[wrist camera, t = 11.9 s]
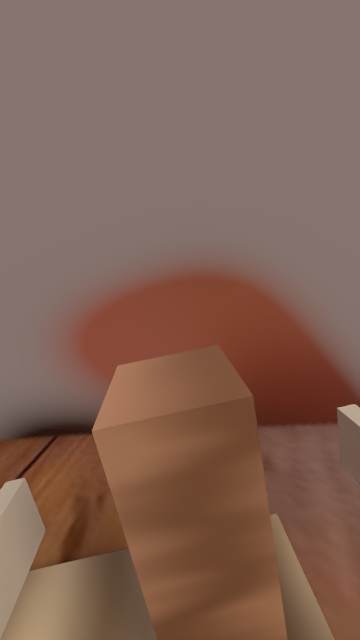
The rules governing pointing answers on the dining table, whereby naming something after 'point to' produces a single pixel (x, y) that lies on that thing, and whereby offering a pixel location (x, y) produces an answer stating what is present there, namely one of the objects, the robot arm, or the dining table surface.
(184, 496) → the wooden tray with post
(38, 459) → the dining table surface
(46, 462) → the dining table surface
